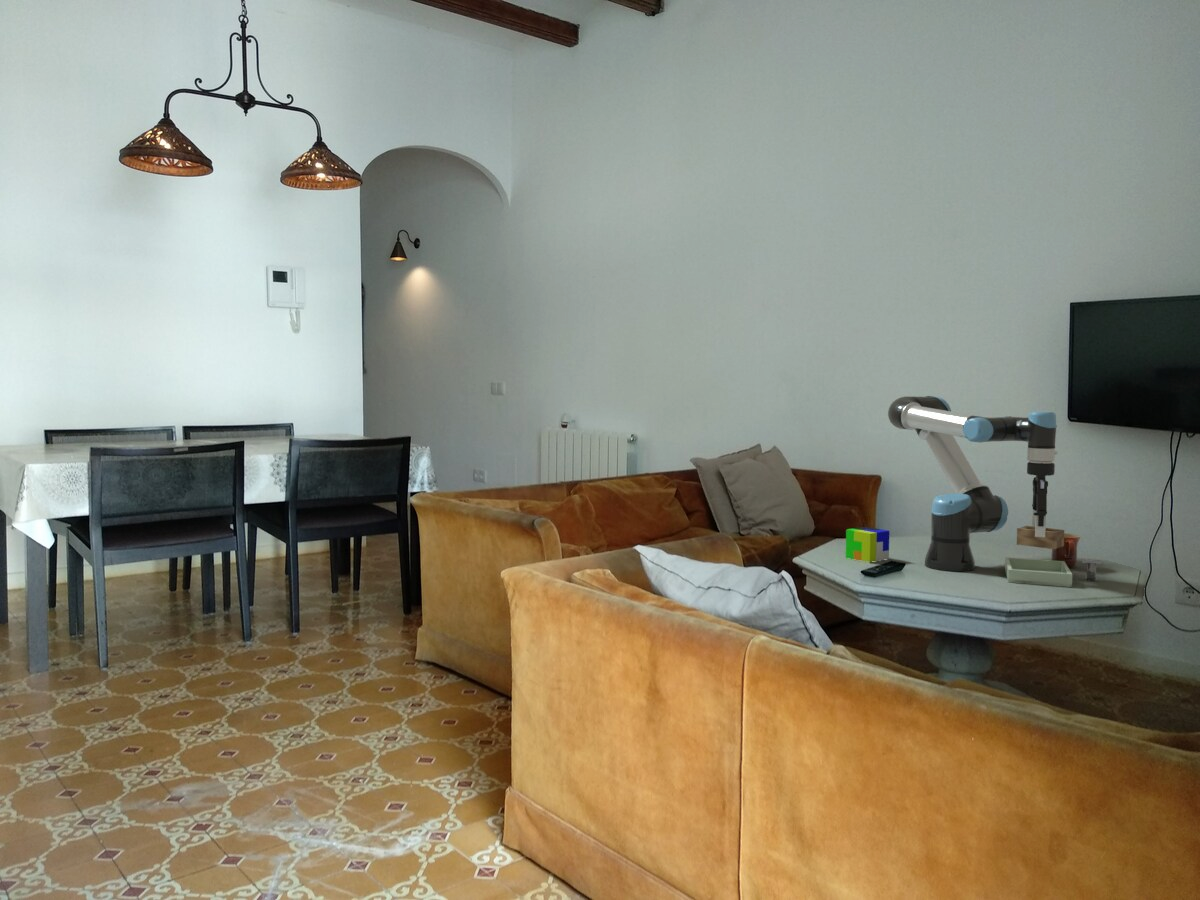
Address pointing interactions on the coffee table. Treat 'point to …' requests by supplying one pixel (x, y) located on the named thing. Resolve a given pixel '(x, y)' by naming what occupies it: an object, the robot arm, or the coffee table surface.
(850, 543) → the puzzle toy
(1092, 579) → the stake
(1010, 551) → the coffee table surface
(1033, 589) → the coffee table surface
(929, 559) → the robot arm
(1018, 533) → the light brown wooden box
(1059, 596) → the coffee table surface
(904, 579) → the coffee table surface
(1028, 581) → the tray
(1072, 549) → the mug
